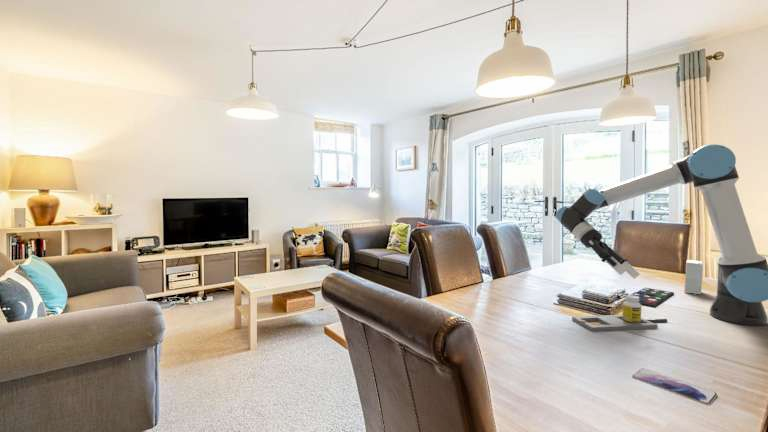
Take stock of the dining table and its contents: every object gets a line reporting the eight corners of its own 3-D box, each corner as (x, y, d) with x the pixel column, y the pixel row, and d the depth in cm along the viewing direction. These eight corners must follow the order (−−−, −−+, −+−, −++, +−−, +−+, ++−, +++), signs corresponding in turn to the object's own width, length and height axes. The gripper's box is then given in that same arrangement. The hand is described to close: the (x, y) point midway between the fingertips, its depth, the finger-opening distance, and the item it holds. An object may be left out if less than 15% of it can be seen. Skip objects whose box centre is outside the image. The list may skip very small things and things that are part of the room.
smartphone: (709, 404, 77) (631, 375, 90) (709, 408, 77) (630, 379, 90) (718, 393, 81) (642, 367, 94) (718, 396, 81) (642, 370, 94)
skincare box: (684, 289, 172) (685, 259, 171) (701, 291, 168) (702, 260, 167) (684, 293, 165) (685, 261, 165) (701, 295, 161) (702, 263, 161)
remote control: (623, 302, 154) (623, 298, 153) (645, 290, 173) (645, 286, 172) (654, 308, 145) (654, 304, 145) (673, 295, 164) (674, 291, 164)
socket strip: (653, 316, 134) (653, 312, 134) (680, 327, 123) (680, 322, 123) (572, 319, 131) (572, 315, 131) (592, 331, 120) (592, 326, 120)
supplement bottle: (632, 326, 124) (633, 299, 123) (618, 321, 129) (619, 295, 129) (644, 324, 125) (645, 297, 125) (630, 319, 131) (631, 293, 130)
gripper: (593, 246, 153) (634, 283, 139) (566, 236, 138) (608, 277, 124) (607, 233, 150) (650, 271, 136) (580, 222, 135) (626, 263, 121)
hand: (630, 274), depth 130 cm, fingers open, 13 cm apart
